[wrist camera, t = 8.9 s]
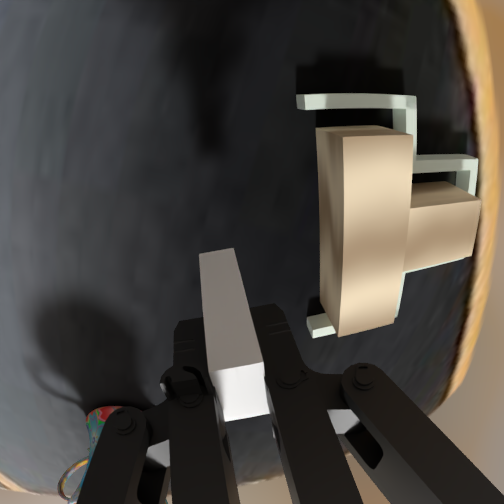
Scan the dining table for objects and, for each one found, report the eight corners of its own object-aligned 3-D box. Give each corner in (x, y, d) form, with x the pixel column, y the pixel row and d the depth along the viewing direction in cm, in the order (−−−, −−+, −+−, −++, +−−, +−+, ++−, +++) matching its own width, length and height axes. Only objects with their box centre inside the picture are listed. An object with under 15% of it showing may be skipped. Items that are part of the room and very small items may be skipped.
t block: (315, 127, 17) (342, 137, 14) (448, 126, 18) (487, 137, 14) (319, 300, 23) (338, 336, 19) (431, 275, 23) (458, 302, 20)
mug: (152, 391, 25) (147, 503, 16) (186, 441, 29) (192, 530, 20) (46, 400, 24) (23, 491, 15) (92, 447, 29) (83, 525, 19)
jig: (296, 94, 16) (304, 94, 15) (466, 101, 17) (480, 103, 16) (306, 325, 24) (312, 338, 22) (443, 289, 25) (453, 299, 23)
